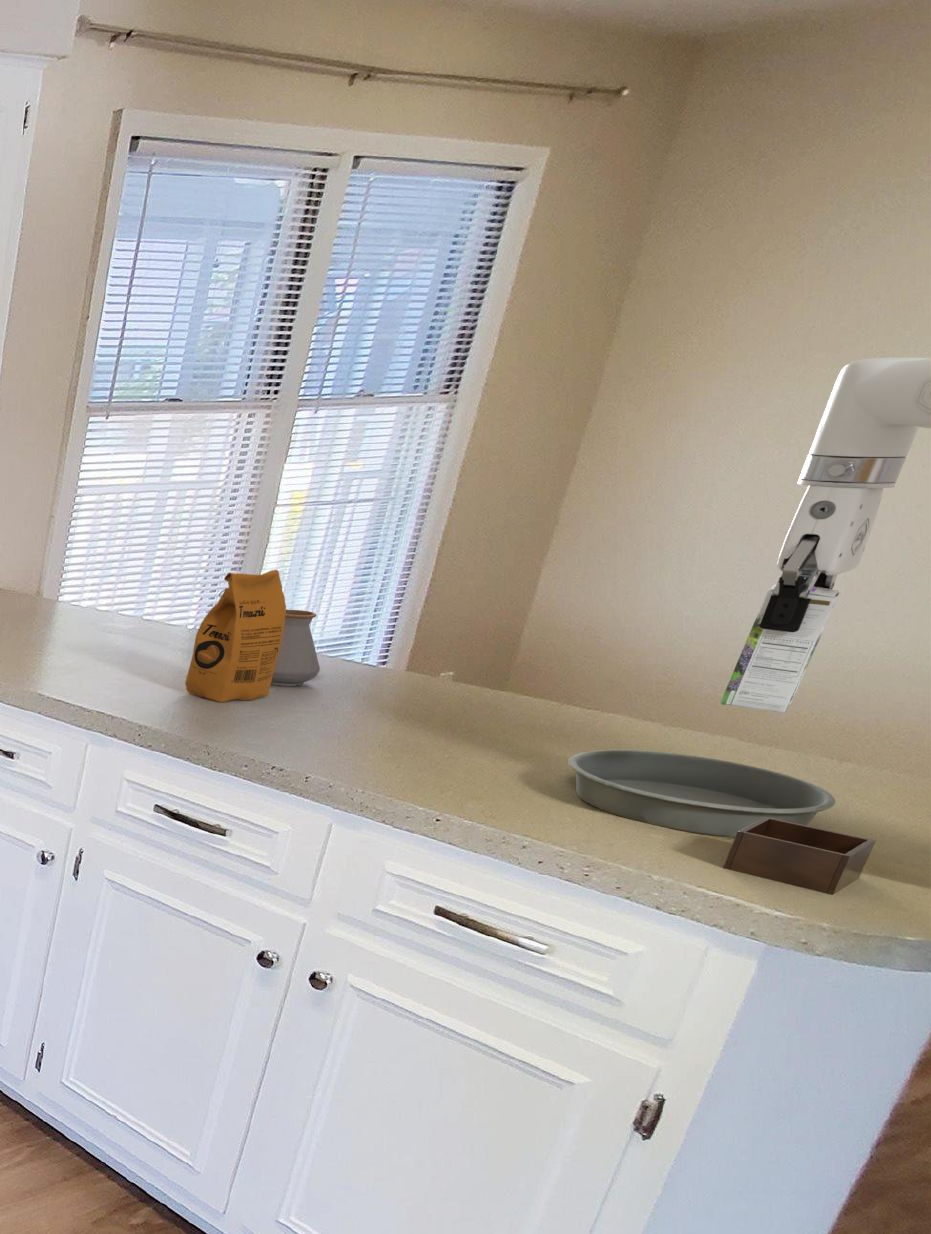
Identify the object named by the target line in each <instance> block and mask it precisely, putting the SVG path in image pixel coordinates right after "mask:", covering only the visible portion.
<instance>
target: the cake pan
mask: <svg viewBox="0 0 931 1234" xmlns="http://www.w3.org/2000/svg"><path fill="white" fill-rule="evenodd" d="M567 763H568V766H569V768H570V769H571V770H572V771H574V772H575V778H576V779H575V780H576V785H575V786H576V787H575V788H576V794H577V796H578V797H579V799H580V800H581V801H584V802H585V803H587V804H588V803H589V804H588V805H591V806H593V807H595V808H597V809H599V810H602V811H605V812H606V813H610V814H613V815H615V816H617V817H618V816H619V817H622V818H626V819H628V820H632V821H636V822H641V823H643V824H644V823H645V824H649V825H653V826H657V827H661V828H666V829H672V830H677V831H681V832H688V833H689V832H690V833H696V834H703V835H709V836H718V837H727V838H735V837H736V834H737V832H738V831H740V830H741V829H743V828H745V827H747V826H749V825H751V824H753V823H755V822H757V821H759V820H761V819H763V818H765V817H769V818H773V819H778V820H783V821H787V822H792V823H797V824H801V825H806V826H809V824H810V822H811V821H812V820H813V819H814V818H815V816H816V815H817V814H818V813H819V812H824V811H827V810H829V809H831V808H832V807H834V806H835V804H836V799H835V797H834V796H833V794H832V793H830V792H829V791H827V790H825V789H823V788H822V787H820V786H819V785H815V784H813V783H811V782H808V781H806V780H803V779H800V778H797V777H794V776H791V775H788V774H784V773H780V772H777V771H774V770H770V769H766V768H761V767H757V766H754V765H748V764H743V763H737V762H733V761H728V760H722V759H718V758H712V757H706V756H705V757H704V756H697V755H691V754H683V753H677V752H676V753H674V752H665V751H655V750H654V751H653V750H643V749H642V750H639V749H601V750H591V751H584V752H579V753H576V754H574V755H572V756H570V758H568V760H567Z"/></svg>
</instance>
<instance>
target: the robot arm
mask: <svg viewBox="0 0 931 1234" xmlns="http://www.w3.org/2000/svg"><path fill="white" fill-rule="evenodd" d="M919 428H925V429H931V357H924V356H923V357H922V356H921V357H920V356H919V357H917V356H916V357H915V356H913V357H912V356H905V357H904V356H902V357H899V356H898V357H893V356H892V357H867V358H859V359H855V360H853V361H850V362H848V363H847V364H846V365H844V367H843V368H841V370H840V372H839V374H838V376H837V378H836V380H835V383H834V385H833V388H832V391H831V393H830V396H829V399H828V401H827V404H826V407H825V410H824V411H823V415H822V417H821V419H820V423H819V425H818V427H817V430H816V433H815V435H814V439H813V442H812V444H811V447H810V449H809V452H808V454H807V457H806V458H805V459H806V460H805V462H804V464H803V467H802V469H801V473H800V475H799V477H798V480H797V483H796V484H797V485H802V486H807V488H806V491H805V492H804V495H803V497H802V499H801V501H800V502H799V506H798V508H797V510H796V513H795V514H794V517H793V518H792V519H793V520H792V522H791V524H790V527H789V529H788V531H787V534H786V536H785V538H784V541H783V544H782V546H781V549H780V552H779V555H778V559H777V563H776V568H777V569H779V570H780V571H781V572H782V573H781V575H780V576H779V578H778V580H777V582H776V584H777V585H776V587H775V589H774V591H773V595H771V598H770V600H769V603H768V605H767V608H766V611H765V613H764V616H763V618H762V621H761V623H760V628H762V629H768V630H777V631H785V632H796V631H798V630H799V628H800V626H801V623H802V621H803V618H804V616H805V613H806V611H807V608H808V606H809V603H810V601H811V598H807V597H808V596H809V594H810V592H811V590H812V588H813V587H820V588H826V589H831V590H834V587H835V584H836V581H837V576H838V575H840V574H843V573H846V572H849V571H852V570H854V569H856V568H858V566H859V565H860V563H861V561H862V557H863V555H864V551H865V549H866V546H867V543H868V540H869V538H870V534H871V531H872V528H873V526H874V523H875V520H876V517H877V515H878V511H879V507H880V504H881V501H882V496H883V492H884V489H885V488H887V489H891V488H894V487H895V486H896V484H897V481H898V478H899V476H900V473H901V472H902V468H903V466H904V465H905V461H906V459H907V456H908V454H909V452H910V449H911V447H912V444H913V442H914V440H915V437H916V435H917V432H918V429H919Z"/></svg>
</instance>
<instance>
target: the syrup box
mask: <svg viewBox="0 0 931 1234" xmlns="http://www.w3.org/2000/svg"><path fill="white" fill-rule="evenodd" d="M776 585H777V583H775V584H773V585H772V586H771V587H770V589H768V590H767V592H766V593H765V596H764V598H763V601H762V603H761V606H760V608H759V610H758V613H757V615H756V617H755V619H754V621H753V624H752V626H751V628H750V631H749V634H748V636H747V638H746V640H745V643H744V645H743V648H742V650H741V652H740V654H739V656H738V660H737V662H736V664H735V666H734V669H733V671H732V675H731V677H730V679H729V681H728V684H727V686H726V688H725V691H724V693H723V695H722V698H721V700H720V704H721V705H722V706H728V707H734V708H735V707H736V708H743V709H749V710H756V711H764V712H770V713H771V712H772V713H773V712H774V713H778V714H779V713H780V714H786V713H787V711H788V709H789V707H790V705H791V704H792V702H793V700H794V697H795V695H796V693H797V691H798V688H799V687H800V684H801V682H802V680H803V678H804V676H805V673H806V671H807V668H808V666H809V665H810V662H811V659H812V657H813V655H814V653H815V651H816V648H817V646H818V644H819V642H820V639H821V637H822V635H823V632H824V630H825V628H826V625H827V624H828V621H829V619H830V616H831V614H832V612H833V610H834V608H835V605H836V603H837V600H838V598H839V596H840V594H841V592H840V591H839V590H835V589H832V590H831V589H826V588H820V587H813V588H812V590H811V592H810V594H809V596H808V597H807V598H811V601H810V603H809V606H808V608H807V611H806V613H805V616H804V618H803V621H802V623H801V626H800V628H799V630H798V631H796V632H785V631H777V630H768V629H762V628H760V623H761V621H762V618H763V616H764V613H765V611H766V608H767V605H768V603H769V600H770V598H771V595H773V591H774V589H775V587H776Z"/></svg>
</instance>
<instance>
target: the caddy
mask: <svg viewBox="0 0 931 1234" xmlns="http://www.w3.org/2000/svg"><path fill="white" fill-rule="evenodd" d="M875 844H876V839H870V838H867V837H861V836H857V835H852V834H848V833H843V832H838V831H834V830H829V829H824V828H819V827H814V826H810V825H807V826H806V825H801V824H797V823H792V822H787V821H783V820H778V819H773V818H769V817H765V818H763V819H761V820H759V821H757V822H755V823H753V824H751V825H749V826H747V827H745V828H743V829H741V830H740V831H738V832H737V834H736V837H734V839H733V842H732V843H731V847H730V849H729V852H728V854H727V857H726V860H725V862H724V864H723V866H722V869H725V870H729V871H733V872H736V873H740V874H745V875H749V876H753V877H756V878H762V879H765V880H769V881H774V882H778V883H781V884H785V885H790V886H794V887H798V888H801V889H806V890H809V891H810V890H811V891H813V892H818V893H823V894H826V895H831V896H834V895H836V894H837V893H838V892H840V891H841V890H843V889H844V888H846V887H848V886H849V885H851V884H852V883H854V882H855V881H857V880H859V879H860V877H861V875H862V873H863V870H864V868H865V866H866V863H867V861H868V859H869V857H870V855H871V852H872V851H873V848H874V846H875Z"/></svg>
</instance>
